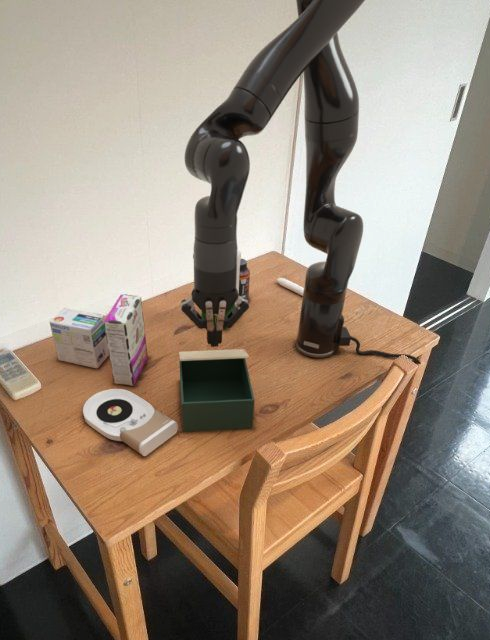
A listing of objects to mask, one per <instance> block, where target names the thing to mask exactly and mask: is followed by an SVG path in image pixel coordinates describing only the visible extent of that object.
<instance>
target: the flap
mask: <svg viewBox="0 0 490 640" xmlns="http://www.w3.org/2000/svg"><path fill="white" fill-rule="evenodd" d="M179 357H180V361H192V360H215V359H238V358H245V359H249V358H250V355H249V354H248V352H247V351H246V350H245V349H244V348H236V349H234V348H233V349H214V350H212V349H211V350H210V349H209V350H189V351H188V350H186V351H179V352H178V358H179Z"/></svg>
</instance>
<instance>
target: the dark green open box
mask: <svg viewBox="0 0 490 640" xmlns="http://www.w3.org/2000/svg"><path fill="white" fill-rule="evenodd" d="M178 360H179V361H178V362H179V364H178V365H179V384H180V385H179V386H180V387H179V388H180V399H181V400H180V403H181V422H182V424H181V425H182V433H189V432H208V431H209V432H210V431H228V430H230V431H231V430H249V429H250V430H251V429H253V424H254V412H255V397H254V392H253V387H252V383H251V378H250V374H249V369H248V365H247V360H246V358H238V359H215V360H192V361H180V357H179V356H178Z"/></svg>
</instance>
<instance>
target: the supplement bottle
mask: <svg viewBox="0 0 490 640" xmlns="http://www.w3.org/2000/svg"><path fill="white" fill-rule="evenodd" d="M250 278H251V270H250V268H249V267H248V261H247V260H246V259H245V258H241V260H240V272H239V296H240V297H242V298H244V297H245V298H247V300H249V296H250V295H249V293H250V280H251V279H250Z"/></svg>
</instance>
